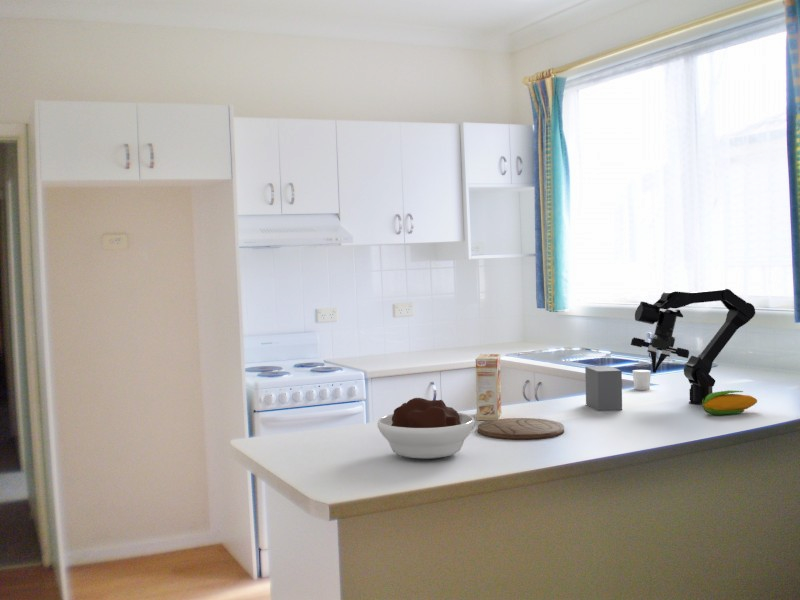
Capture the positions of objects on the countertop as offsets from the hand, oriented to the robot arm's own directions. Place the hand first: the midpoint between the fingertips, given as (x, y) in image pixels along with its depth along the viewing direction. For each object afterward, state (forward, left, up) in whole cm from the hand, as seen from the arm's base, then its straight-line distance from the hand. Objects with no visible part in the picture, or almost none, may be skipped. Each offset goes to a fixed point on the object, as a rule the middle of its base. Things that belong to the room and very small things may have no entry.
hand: (654, 372), depth 278 cm
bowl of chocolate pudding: (+9, +102, -11) cm, 103 cm away
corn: (-26, 0, -11) cm, 28 cm away
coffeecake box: (+31, +49, -11) cm, 60 cm away
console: (+11, +13, -11) cm, 21 cm away
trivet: (+9, +62, -12) cm, 64 cm away
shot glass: (+21, -31, -11) cm, 39 cm away
